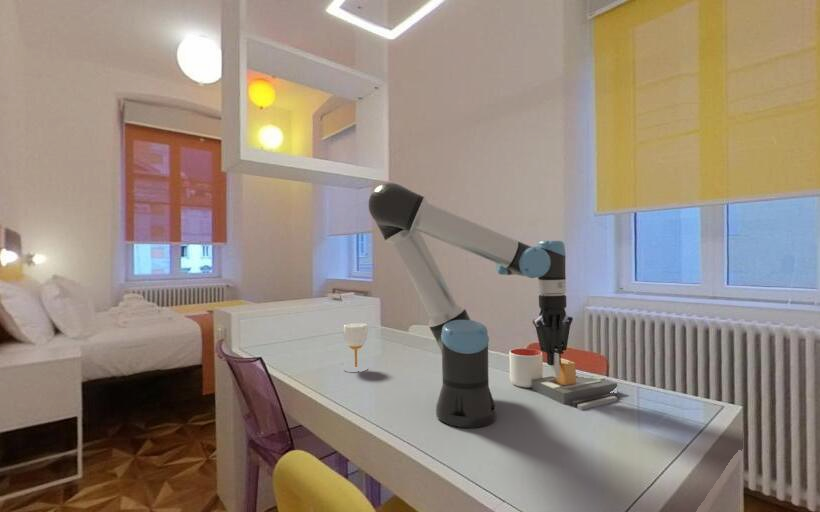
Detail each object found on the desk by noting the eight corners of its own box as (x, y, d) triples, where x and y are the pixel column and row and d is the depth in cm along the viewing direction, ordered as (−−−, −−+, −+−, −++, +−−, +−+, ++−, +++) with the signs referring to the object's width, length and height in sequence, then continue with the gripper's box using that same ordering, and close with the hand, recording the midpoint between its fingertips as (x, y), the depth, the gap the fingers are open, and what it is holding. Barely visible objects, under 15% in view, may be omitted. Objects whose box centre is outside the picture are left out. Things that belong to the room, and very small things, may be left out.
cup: (544, 389, 119) (544, 356, 119) (510, 388, 121) (510, 355, 121) (540, 379, 129) (540, 348, 129) (509, 378, 131) (508, 347, 131)
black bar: (574, 407, 105) (574, 402, 105) (570, 405, 107) (570, 401, 107) (618, 398, 112) (618, 393, 112) (613, 396, 113) (613, 392, 113)
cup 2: (371, 370, 142) (370, 326, 142) (346, 374, 138) (345, 328, 138) (364, 364, 150) (364, 322, 150) (341, 367, 147) (340, 324, 147)
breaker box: (564, 404, 108) (563, 392, 108) (532, 389, 120) (531, 378, 120) (617, 393, 115) (617, 382, 115) (582, 380, 127) (582, 370, 127)
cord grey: (581, 410, 104) (580, 406, 104) (577, 408, 105) (577, 404, 105) (617, 400, 110) (617, 397, 110) (613, 399, 111) (613, 395, 111)
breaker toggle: (565, 385, 113) (564, 362, 113) (554, 381, 117) (553, 358, 117) (575, 383, 115) (575, 360, 115) (564, 379, 119) (564, 357, 119)
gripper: (543, 296, 108) (545, 382, 108) (579, 293, 113) (581, 376, 113) (525, 294, 115) (527, 375, 115) (560, 291, 120) (562, 369, 120)
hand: (554, 375), depth 114 cm, fingers closed
